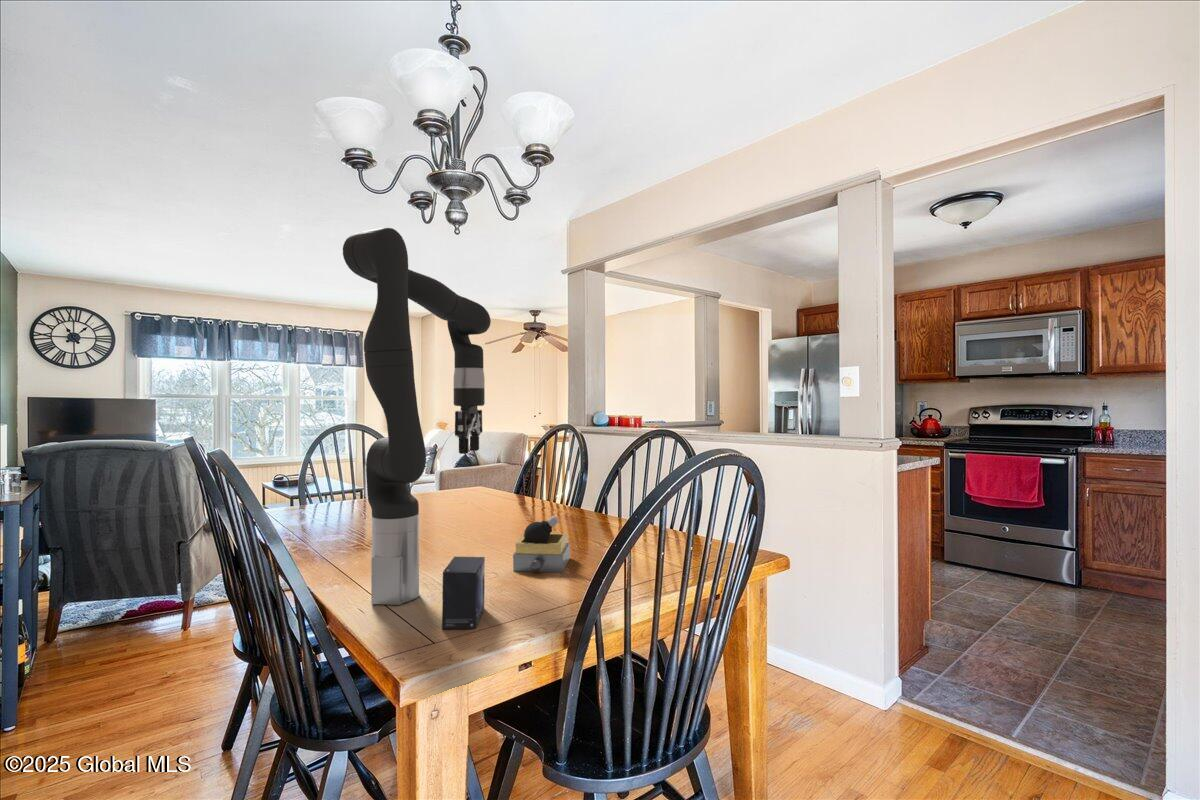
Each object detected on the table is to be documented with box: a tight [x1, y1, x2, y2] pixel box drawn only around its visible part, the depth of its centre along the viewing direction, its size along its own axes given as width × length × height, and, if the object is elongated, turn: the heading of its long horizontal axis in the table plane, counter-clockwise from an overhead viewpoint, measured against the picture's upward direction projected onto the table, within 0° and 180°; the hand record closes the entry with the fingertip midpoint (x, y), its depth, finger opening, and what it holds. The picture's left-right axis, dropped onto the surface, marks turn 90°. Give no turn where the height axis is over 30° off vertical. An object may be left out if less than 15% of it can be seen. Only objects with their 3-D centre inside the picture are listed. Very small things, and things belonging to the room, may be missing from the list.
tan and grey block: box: [512, 532, 571, 573], centre depth 142 cm, size 15×12×6 cm
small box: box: [441, 556, 486, 630], centre depth 108 cm, size 11×6×10 cm, turn 3°
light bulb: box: [523, 515, 559, 543], centre depth 142 cm, size 6×6×10 cm
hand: (469, 452), depth 143 cm, fingers open, 8 cm apart
